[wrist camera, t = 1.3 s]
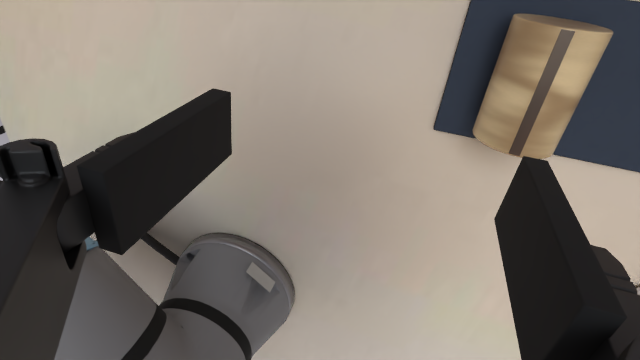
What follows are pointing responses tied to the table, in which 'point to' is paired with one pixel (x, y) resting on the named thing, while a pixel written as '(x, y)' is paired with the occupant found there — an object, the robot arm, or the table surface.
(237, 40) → the table surface
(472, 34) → the board
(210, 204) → the table surface
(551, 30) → the roller
